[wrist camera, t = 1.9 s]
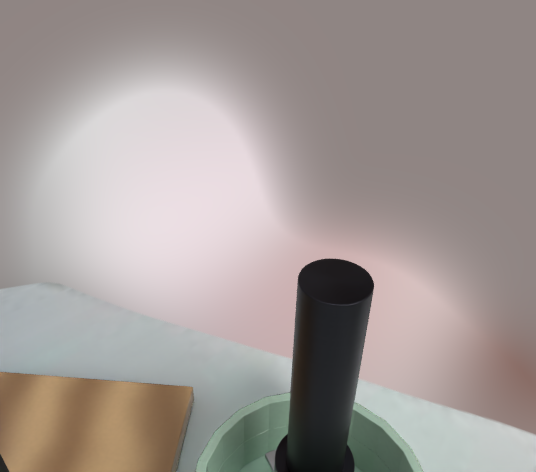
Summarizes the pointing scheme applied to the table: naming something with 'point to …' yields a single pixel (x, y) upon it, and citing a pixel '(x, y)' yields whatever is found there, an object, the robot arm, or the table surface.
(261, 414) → the processor bowl
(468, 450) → the table surface
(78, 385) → the cutting board
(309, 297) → the blade
